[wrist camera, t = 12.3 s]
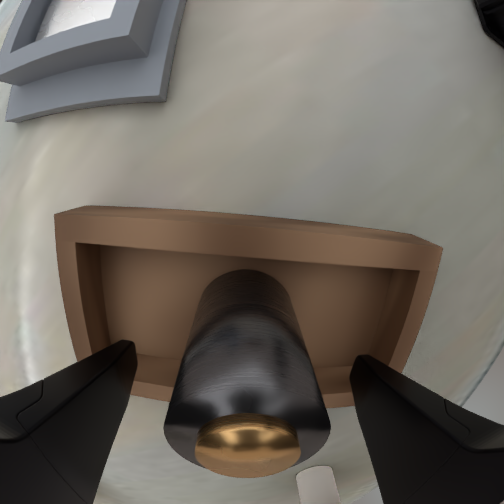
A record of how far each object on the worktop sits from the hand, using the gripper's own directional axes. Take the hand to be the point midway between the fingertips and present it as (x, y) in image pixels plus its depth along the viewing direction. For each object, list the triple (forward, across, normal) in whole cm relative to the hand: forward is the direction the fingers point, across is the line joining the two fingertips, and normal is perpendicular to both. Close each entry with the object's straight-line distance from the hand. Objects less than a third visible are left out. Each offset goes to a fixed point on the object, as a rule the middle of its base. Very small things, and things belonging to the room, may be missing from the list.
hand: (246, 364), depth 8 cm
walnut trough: (+4, 0, 0) cm, 4 cm away
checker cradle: (+4, +8, -14) cm, 17 cm away
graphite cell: (+4, 0, 0) cm, 4 cm away
